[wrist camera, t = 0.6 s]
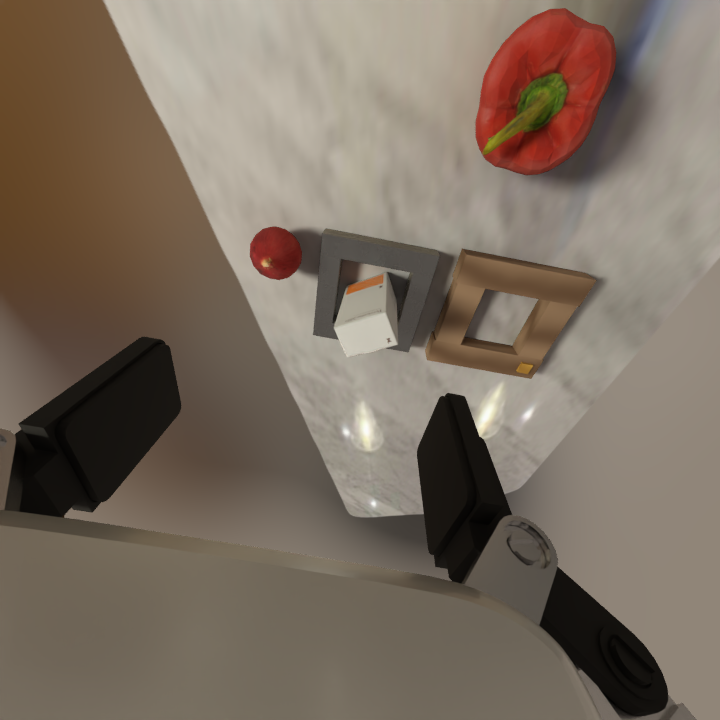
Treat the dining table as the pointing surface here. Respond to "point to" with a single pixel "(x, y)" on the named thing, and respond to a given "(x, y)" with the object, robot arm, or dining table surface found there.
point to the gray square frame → (378, 254)
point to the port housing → (515, 277)
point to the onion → (275, 253)
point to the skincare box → (368, 316)
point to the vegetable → (544, 91)
